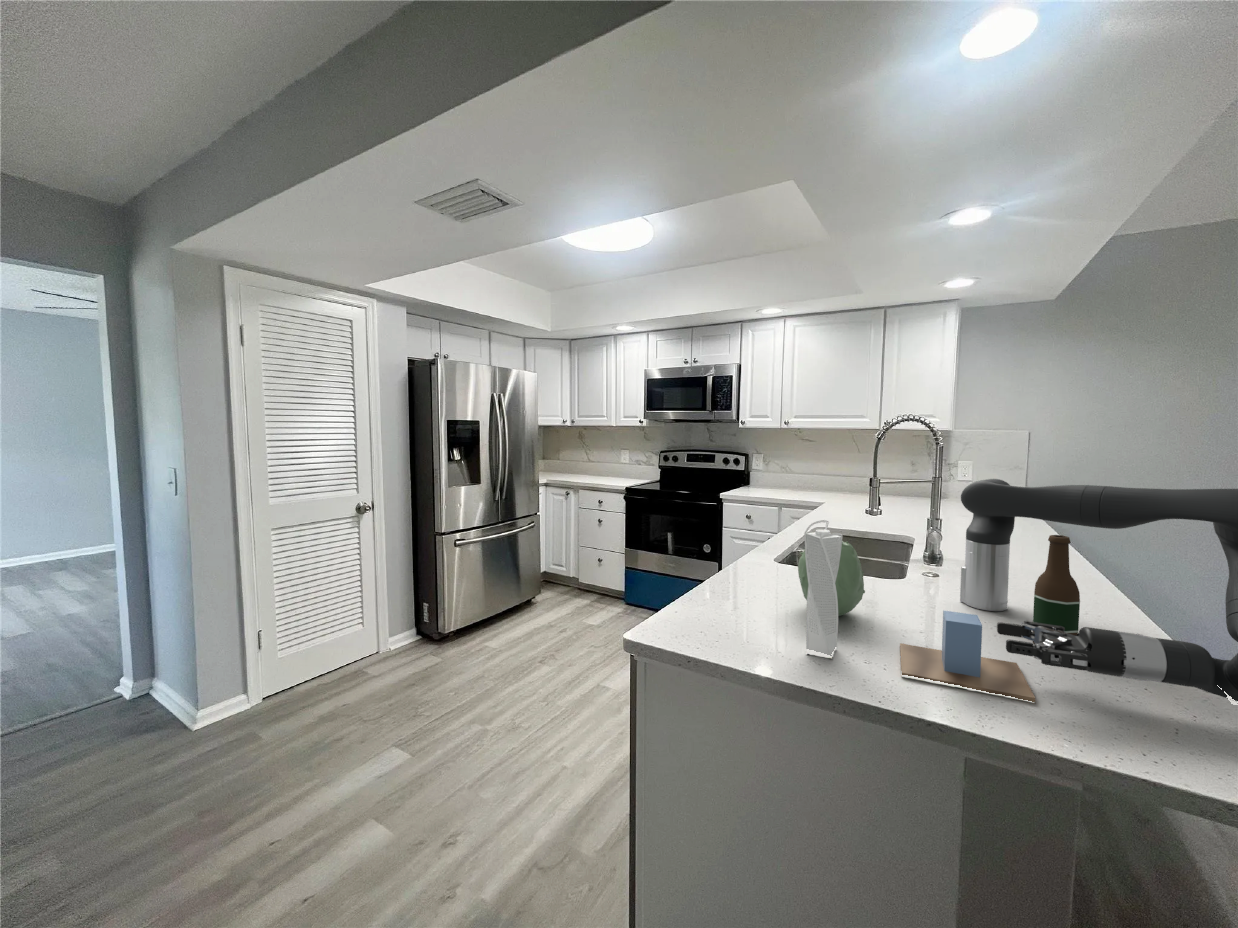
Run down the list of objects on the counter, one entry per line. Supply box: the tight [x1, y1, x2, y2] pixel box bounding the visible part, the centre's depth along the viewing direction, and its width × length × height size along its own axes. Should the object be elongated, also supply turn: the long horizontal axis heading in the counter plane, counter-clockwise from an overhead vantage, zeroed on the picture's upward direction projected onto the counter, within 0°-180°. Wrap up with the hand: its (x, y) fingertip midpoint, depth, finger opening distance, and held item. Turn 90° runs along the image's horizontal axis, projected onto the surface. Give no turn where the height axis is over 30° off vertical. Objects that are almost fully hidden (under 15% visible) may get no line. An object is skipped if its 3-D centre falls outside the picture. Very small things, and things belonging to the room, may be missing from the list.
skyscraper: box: [804, 519, 843, 656], centre depth 105 cm, size 8×8×28 cm
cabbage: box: [797, 540, 866, 617], centre depth 126 cm, size 16×19×20 cm
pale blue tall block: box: [941, 609, 983, 677], centre depth 95 cm, size 6×6×10 cm
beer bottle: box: [1032, 534, 1081, 645], centre depth 105 cm, size 8×8×24 cm
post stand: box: [899, 642, 1036, 703], centre depth 96 cm, size 20×14×8 cm
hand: (1001, 636), depth 92 cm, fingers open, 8 cm apart
